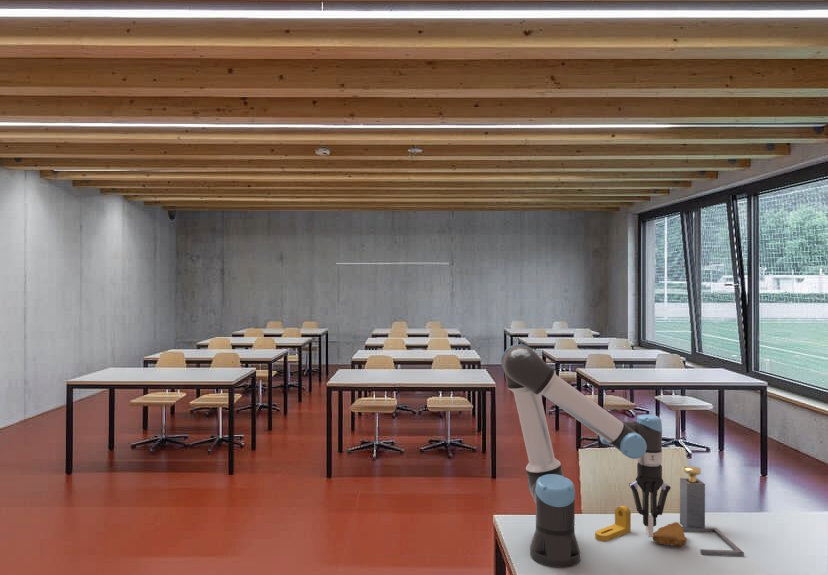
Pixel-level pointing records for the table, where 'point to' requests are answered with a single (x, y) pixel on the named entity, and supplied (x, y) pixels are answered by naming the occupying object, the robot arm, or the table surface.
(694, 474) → the pin
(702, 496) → the press
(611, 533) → the bracket
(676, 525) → the artifact
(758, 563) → the table surface
